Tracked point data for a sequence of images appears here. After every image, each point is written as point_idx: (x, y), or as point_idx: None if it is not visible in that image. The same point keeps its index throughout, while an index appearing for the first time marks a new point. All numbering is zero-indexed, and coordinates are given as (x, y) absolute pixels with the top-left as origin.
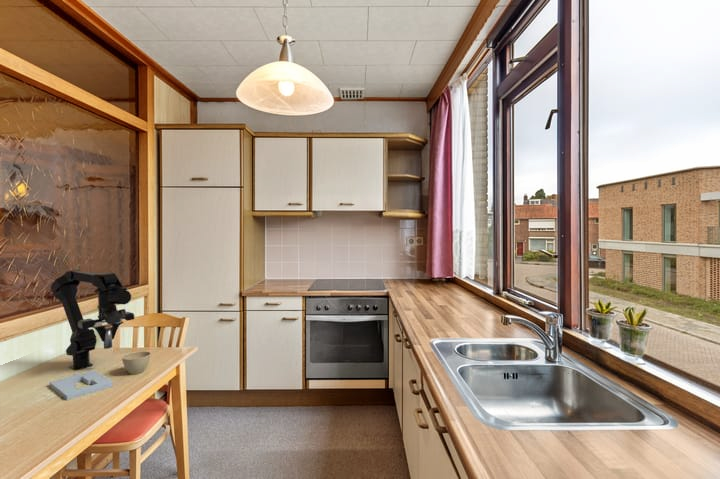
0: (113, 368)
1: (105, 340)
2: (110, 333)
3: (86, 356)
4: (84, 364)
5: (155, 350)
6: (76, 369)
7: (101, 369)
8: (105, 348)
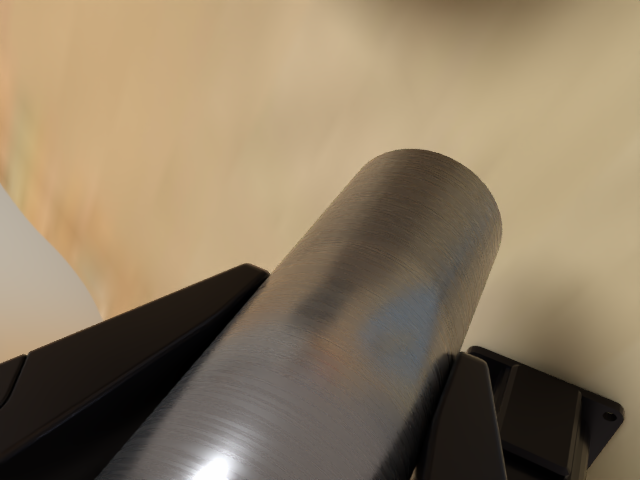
0: (447, 75)
1: (439, 335)
2: (215, 405)
3: (505, 450)
4: (544, 392)
5: (28, 134)
6: (613, 402)
7: (518, 183)
8: (496, 213)
